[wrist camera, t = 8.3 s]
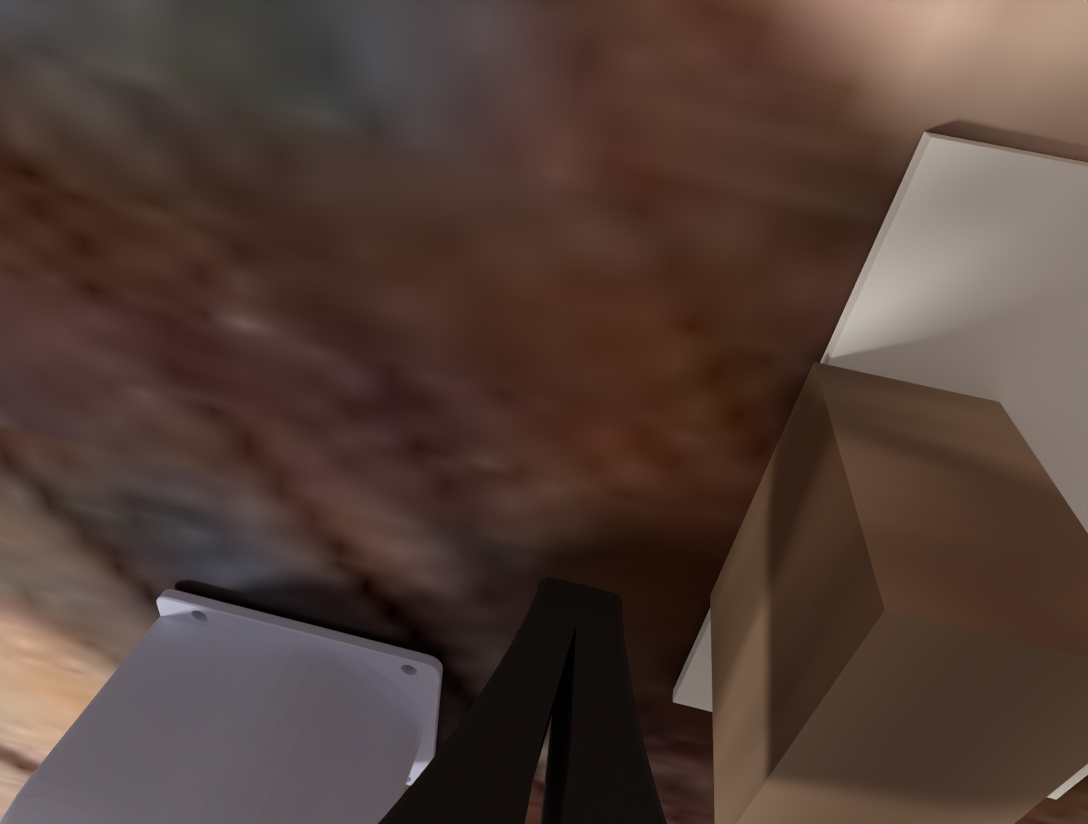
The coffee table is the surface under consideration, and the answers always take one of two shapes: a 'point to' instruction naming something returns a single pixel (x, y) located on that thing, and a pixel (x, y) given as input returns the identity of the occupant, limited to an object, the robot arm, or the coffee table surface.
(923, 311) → the mat
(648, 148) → the coffee table surface
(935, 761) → the brown block
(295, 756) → the robot arm
